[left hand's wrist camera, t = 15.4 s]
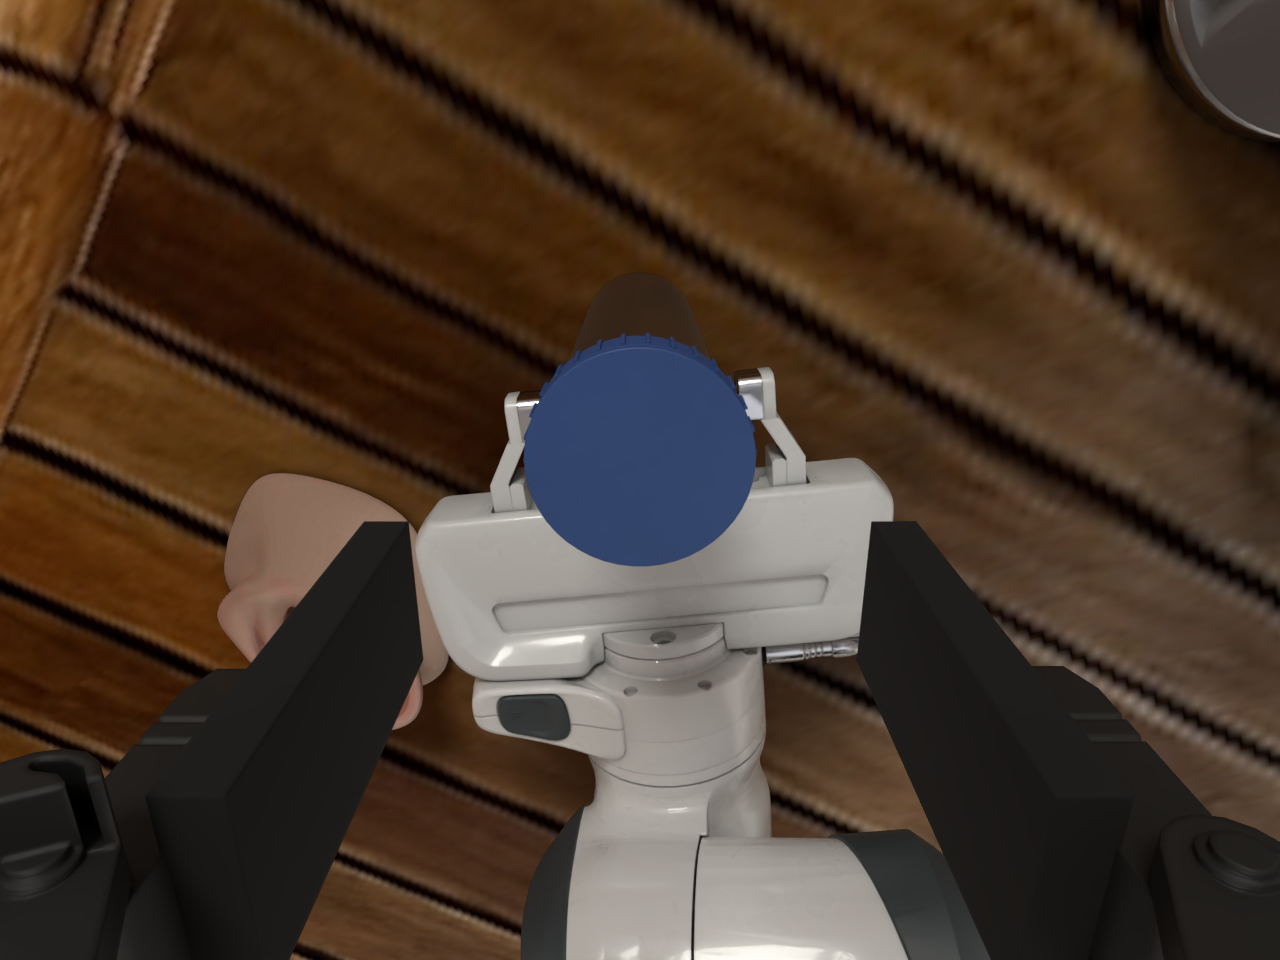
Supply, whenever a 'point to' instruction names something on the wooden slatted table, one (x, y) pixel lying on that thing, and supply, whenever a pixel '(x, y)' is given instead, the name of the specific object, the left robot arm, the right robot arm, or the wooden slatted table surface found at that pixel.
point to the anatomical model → (305, 563)
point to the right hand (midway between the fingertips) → (638, 382)
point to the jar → (640, 313)
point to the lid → (639, 451)
